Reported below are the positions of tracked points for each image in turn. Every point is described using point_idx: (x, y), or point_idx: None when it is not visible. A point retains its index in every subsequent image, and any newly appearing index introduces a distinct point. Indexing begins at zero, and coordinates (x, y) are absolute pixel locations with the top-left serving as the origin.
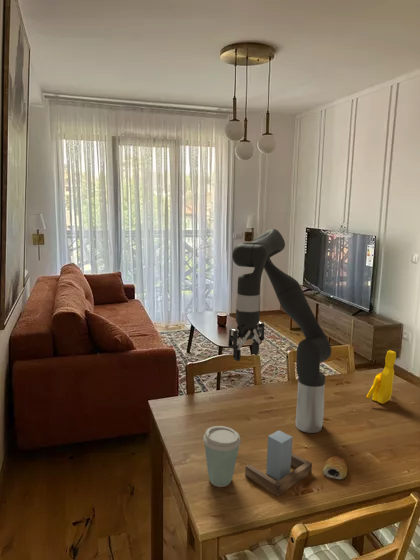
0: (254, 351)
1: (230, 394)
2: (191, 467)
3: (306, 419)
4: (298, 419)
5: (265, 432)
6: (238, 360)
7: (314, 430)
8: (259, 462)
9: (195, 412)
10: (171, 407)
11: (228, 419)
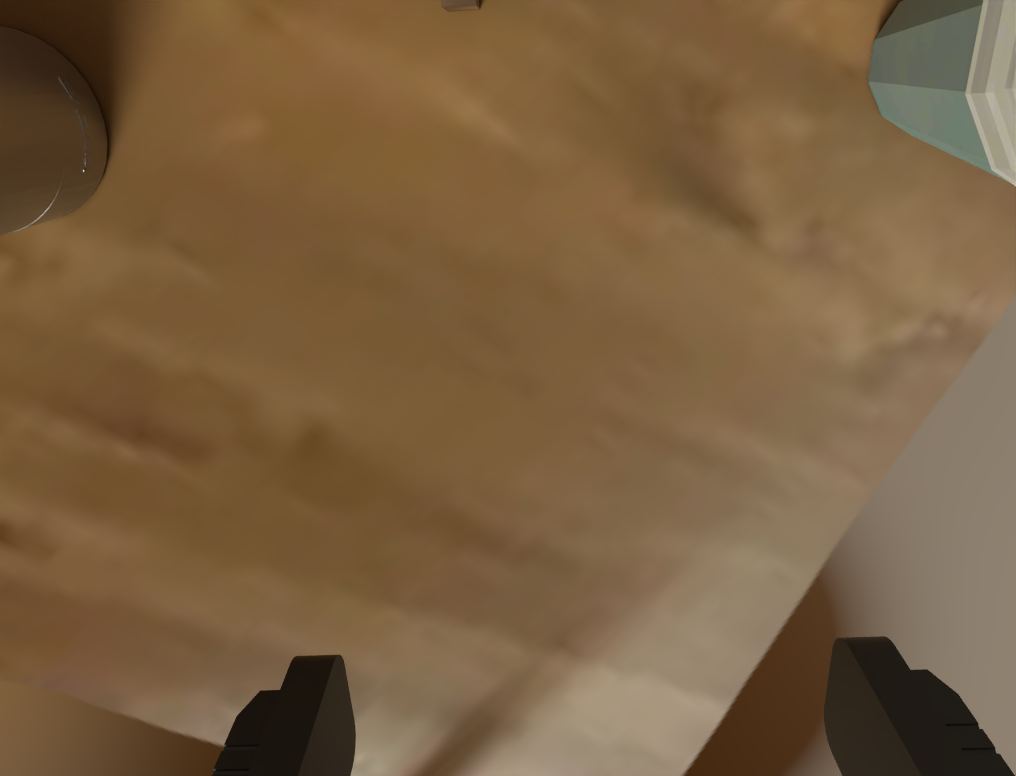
0: (337, 742)
1: (214, 689)
2: (947, 264)
3: (29, 88)
4: (69, 161)
5: (331, 263)
6: (884, 644)
7: (24, 37)
8: (615, 37)
9: (524, 653)
10: (592, 752)
11: (420, 501)
